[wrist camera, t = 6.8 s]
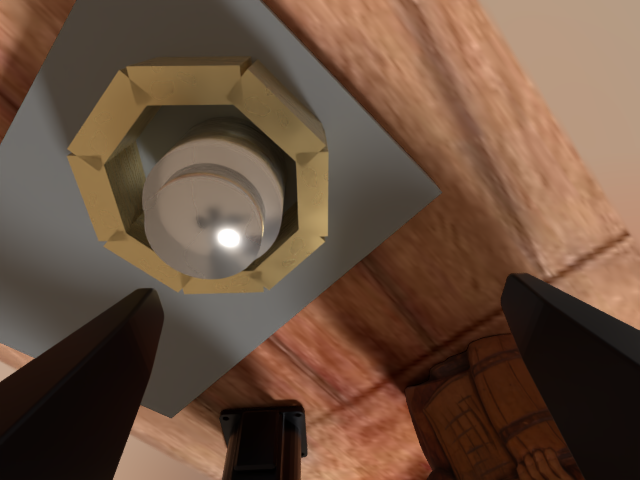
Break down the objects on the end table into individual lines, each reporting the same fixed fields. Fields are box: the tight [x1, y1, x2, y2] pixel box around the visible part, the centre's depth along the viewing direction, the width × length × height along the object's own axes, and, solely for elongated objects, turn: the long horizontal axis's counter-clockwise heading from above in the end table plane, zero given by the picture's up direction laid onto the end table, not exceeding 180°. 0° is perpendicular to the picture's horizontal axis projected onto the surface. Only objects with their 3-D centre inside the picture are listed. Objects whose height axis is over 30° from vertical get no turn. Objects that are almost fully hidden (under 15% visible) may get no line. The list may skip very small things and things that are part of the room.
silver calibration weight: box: [142, 117, 286, 279], centre depth 15 cm, size 5×5×6 cm
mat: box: [0, 0, 442, 418], centre depth 20 cm, size 24×16×2 cm, turn 136°
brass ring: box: [67, 56, 329, 294], centre depth 16 cm, size 9×9×3 cm
